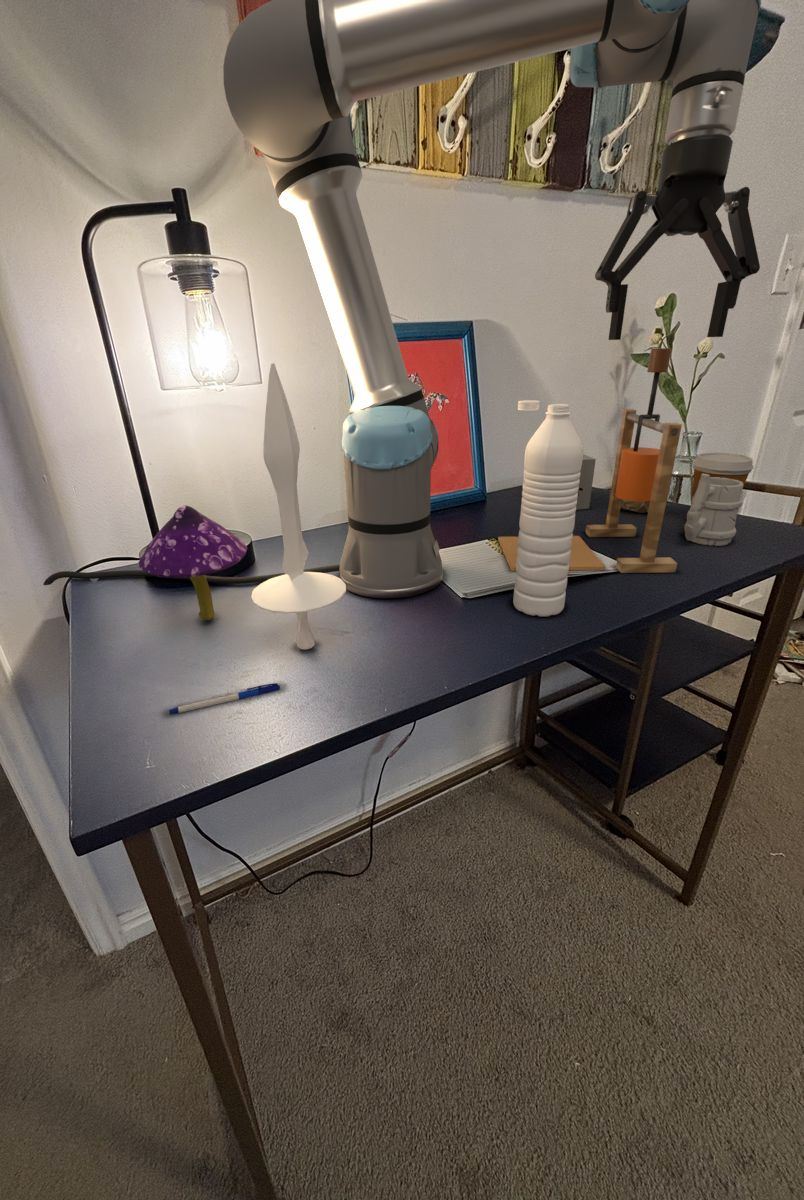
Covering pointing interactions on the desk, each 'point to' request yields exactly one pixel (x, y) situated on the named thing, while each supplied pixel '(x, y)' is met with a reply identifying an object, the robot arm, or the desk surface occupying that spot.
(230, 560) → the decorative mushroom
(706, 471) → the disposable coffee cup
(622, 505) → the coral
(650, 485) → the orange cylinder on rod
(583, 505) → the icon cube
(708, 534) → the mug
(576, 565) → the cork mat
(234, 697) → the ballpoint pen
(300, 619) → the sculpture
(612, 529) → the rail stand
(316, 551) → the desk surface
